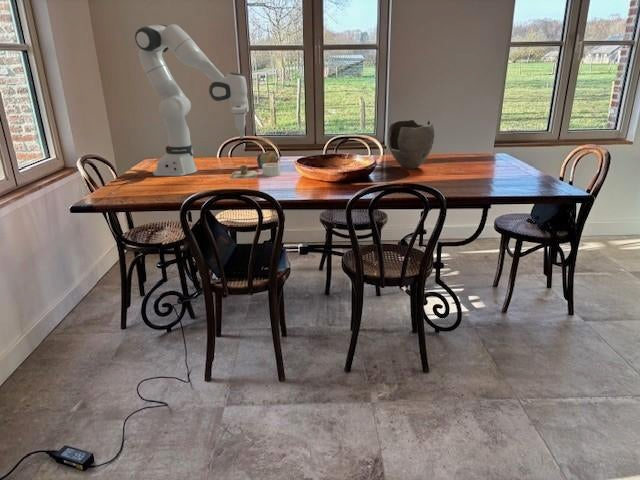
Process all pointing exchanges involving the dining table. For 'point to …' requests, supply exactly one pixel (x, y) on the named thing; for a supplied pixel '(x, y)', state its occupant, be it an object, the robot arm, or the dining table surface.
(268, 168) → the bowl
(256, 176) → the mat
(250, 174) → the lid
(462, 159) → the dining table surface
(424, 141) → the clay pot
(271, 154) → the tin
